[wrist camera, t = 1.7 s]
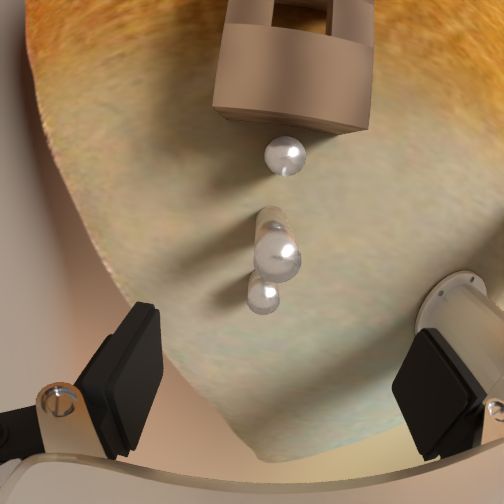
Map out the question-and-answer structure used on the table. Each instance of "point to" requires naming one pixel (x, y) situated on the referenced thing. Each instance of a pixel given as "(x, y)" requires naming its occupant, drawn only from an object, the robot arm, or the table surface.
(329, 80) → the walnut bridge
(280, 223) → the steel pin long
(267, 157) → the steel pin medium
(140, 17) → the table surface
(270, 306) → the steel pin short
